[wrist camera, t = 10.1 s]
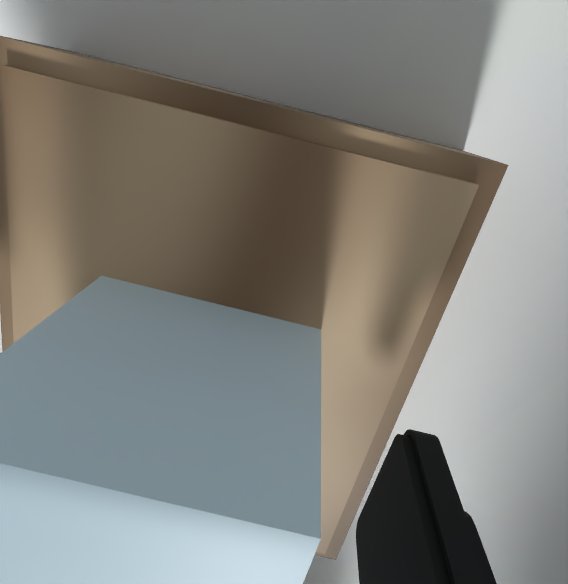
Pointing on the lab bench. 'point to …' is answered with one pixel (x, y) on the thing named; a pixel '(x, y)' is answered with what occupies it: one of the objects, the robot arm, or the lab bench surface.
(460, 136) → the lab bench surface
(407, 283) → the tray
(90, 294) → the block
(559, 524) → the lab bench surface
